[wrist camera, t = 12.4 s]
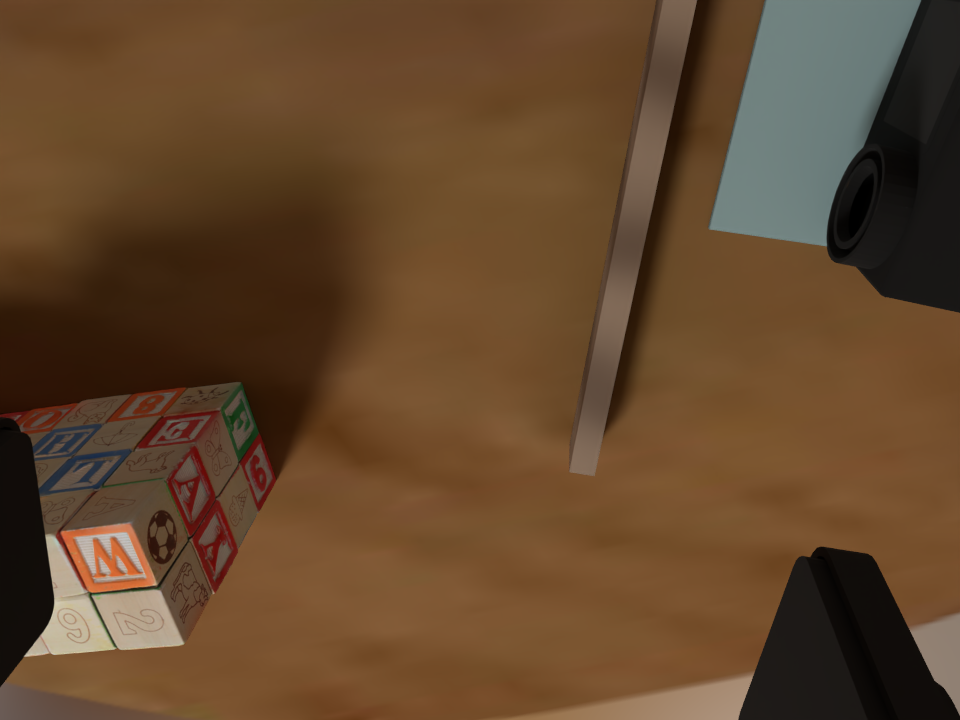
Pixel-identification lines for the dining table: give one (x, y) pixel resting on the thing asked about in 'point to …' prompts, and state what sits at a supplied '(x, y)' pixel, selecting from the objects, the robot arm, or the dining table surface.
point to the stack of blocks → (143, 510)
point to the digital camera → (909, 173)
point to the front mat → (806, 112)
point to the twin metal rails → (630, 225)
